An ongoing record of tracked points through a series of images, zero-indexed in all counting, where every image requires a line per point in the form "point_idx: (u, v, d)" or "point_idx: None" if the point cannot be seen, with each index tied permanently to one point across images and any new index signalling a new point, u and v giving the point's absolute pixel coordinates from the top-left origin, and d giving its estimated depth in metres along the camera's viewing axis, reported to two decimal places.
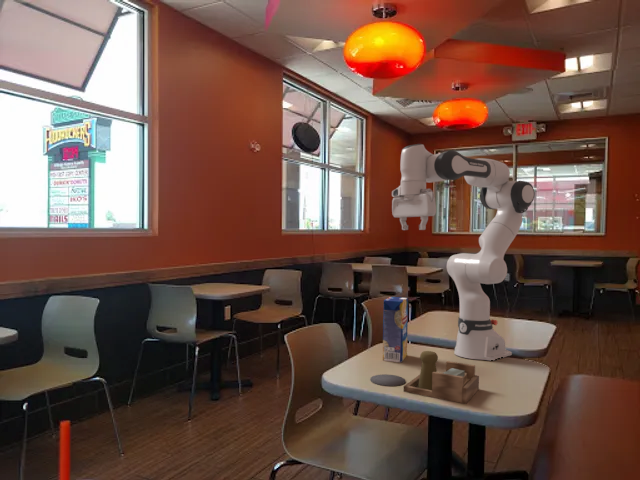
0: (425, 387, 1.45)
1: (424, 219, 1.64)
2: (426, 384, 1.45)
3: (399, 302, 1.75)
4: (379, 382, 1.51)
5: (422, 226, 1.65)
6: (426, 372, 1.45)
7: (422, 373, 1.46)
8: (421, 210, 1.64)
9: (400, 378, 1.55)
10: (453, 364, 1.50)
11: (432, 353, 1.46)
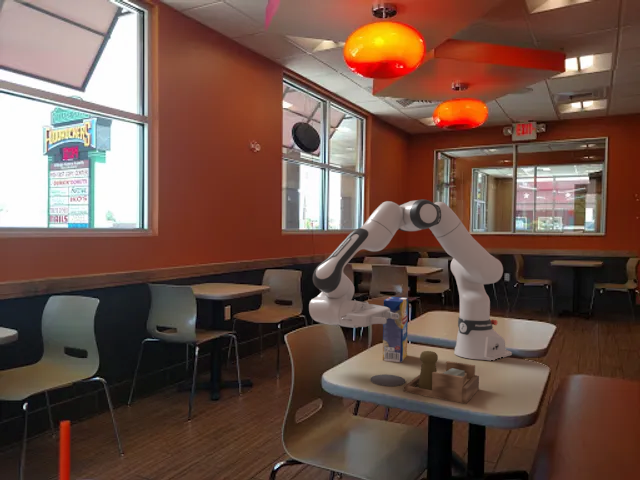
0: (425, 387, 1.45)
1: (372, 322, 1.50)
2: (426, 384, 1.45)
3: (399, 302, 1.75)
4: (379, 382, 1.51)
5: (381, 322, 1.49)
6: (426, 372, 1.45)
7: (422, 373, 1.46)
8: None
9: (400, 378, 1.55)
10: (453, 364, 1.50)
11: (432, 353, 1.46)
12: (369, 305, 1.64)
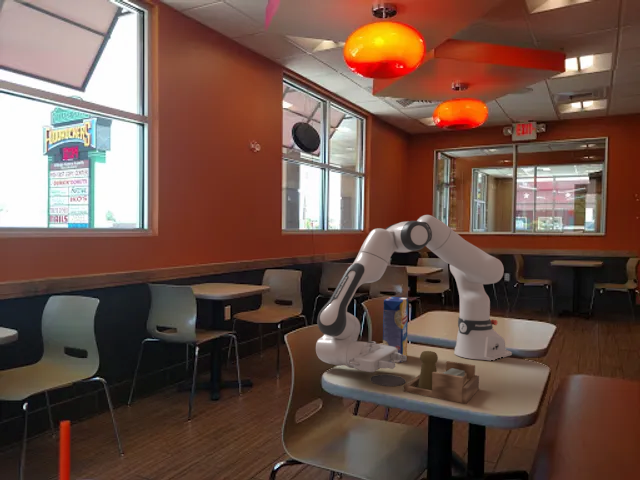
0: (425, 387, 1.45)
1: (381, 367, 1.48)
2: (426, 384, 1.45)
3: (399, 302, 1.75)
4: (379, 382, 1.51)
5: (390, 367, 1.48)
6: (426, 372, 1.45)
7: (422, 373, 1.46)
8: None
9: (400, 378, 1.55)
10: (453, 364, 1.50)
11: (432, 353, 1.46)
12: (376, 345, 1.63)
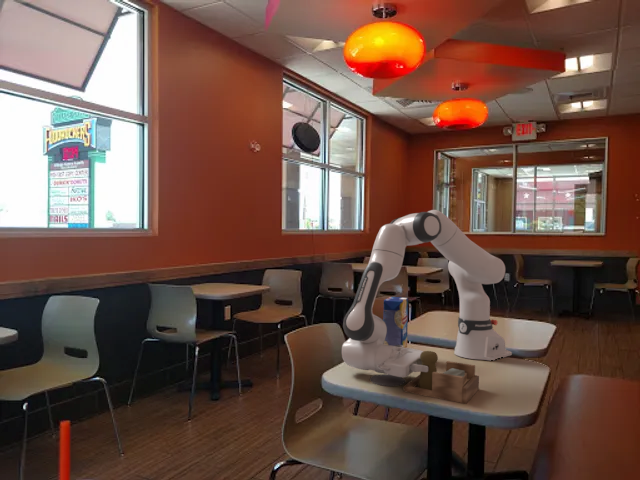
0: (425, 387, 1.45)
1: (414, 370, 1.45)
2: (426, 384, 1.45)
3: (399, 302, 1.75)
4: (379, 382, 1.51)
5: (424, 370, 1.44)
6: (426, 372, 1.45)
7: (422, 373, 1.46)
8: None
9: (400, 378, 1.55)
10: (453, 364, 1.50)
11: (432, 353, 1.46)
12: (405, 349, 1.58)
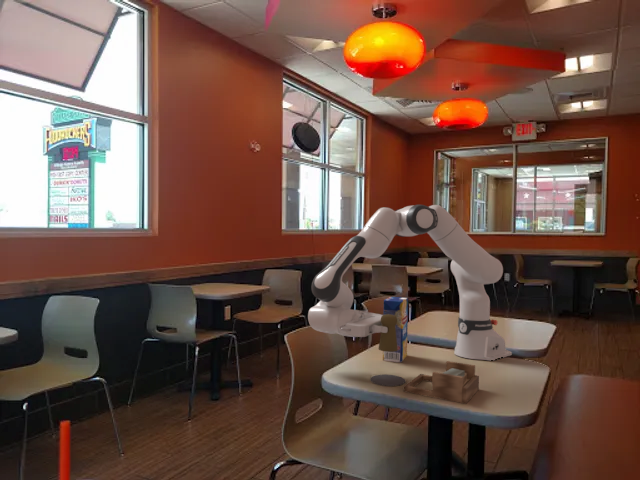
0: (384, 348, 1.51)
1: (374, 331, 1.51)
2: (385, 345, 1.51)
3: (399, 302, 1.75)
4: (379, 382, 1.51)
5: (383, 331, 1.50)
6: (386, 333, 1.51)
7: (382, 335, 1.52)
8: None
9: (400, 378, 1.55)
10: (453, 364, 1.50)
11: (392, 316, 1.52)
12: (368, 313, 1.64)
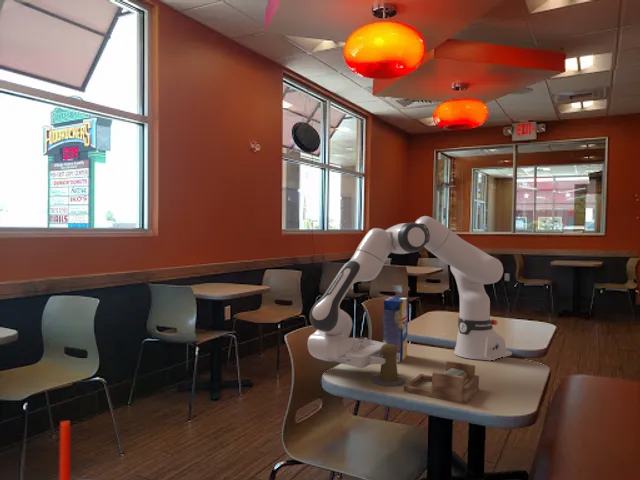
0: (385, 378, 1.52)
1: (371, 363, 1.49)
2: (386, 375, 1.52)
3: (399, 302, 1.75)
4: (379, 382, 1.51)
5: (380, 362, 1.49)
6: (386, 364, 1.52)
7: (382, 365, 1.53)
8: None
9: (400, 378, 1.55)
10: (453, 364, 1.50)
11: (392, 346, 1.53)
12: (368, 341, 1.64)
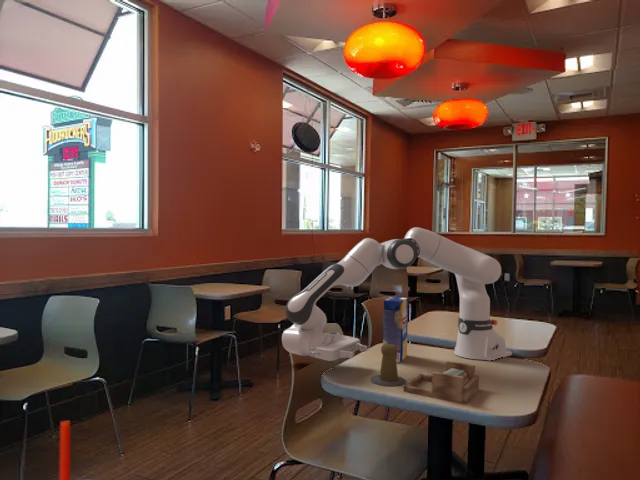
0: (385, 378, 1.52)
1: (340, 356, 1.55)
2: (386, 375, 1.52)
3: (399, 302, 1.75)
4: (379, 382, 1.51)
5: (349, 356, 1.54)
6: (386, 364, 1.52)
7: (382, 365, 1.53)
8: None
9: (400, 378, 1.55)
10: (453, 364, 1.50)
11: (392, 346, 1.53)
12: (340, 336, 1.69)
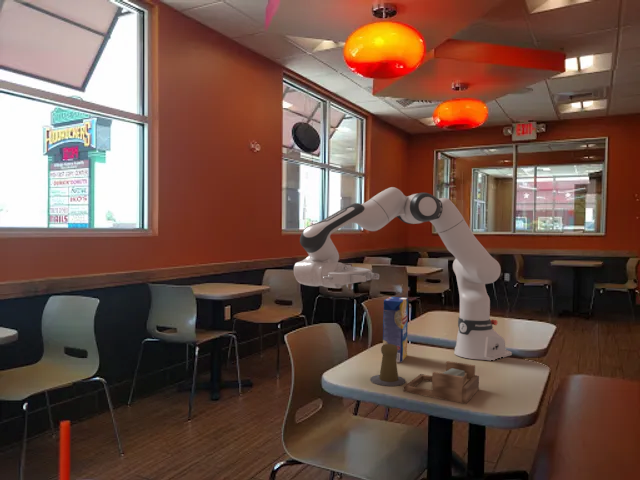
0: (385, 378, 1.52)
1: (353, 280, 1.55)
2: (386, 375, 1.52)
3: (399, 302, 1.75)
4: (379, 382, 1.51)
5: (361, 280, 1.54)
6: (386, 364, 1.52)
7: (382, 365, 1.53)
8: None
9: (400, 378, 1.55)
10: (453, 364, 1.50)
11: (392, 346, 1.53)
12: (351, 267, 1.69)
